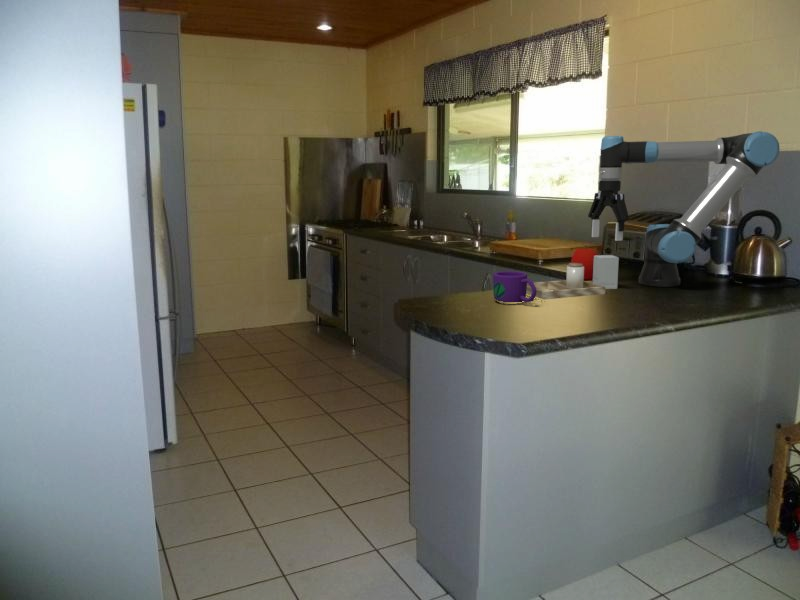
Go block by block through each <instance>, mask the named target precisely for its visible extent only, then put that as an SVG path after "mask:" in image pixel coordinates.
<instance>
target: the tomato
mask: <svg viewBox="0 0 800 600" xmlns="http://www.w3.org/2000/svg"><path fill="white" fill-rule="evenodd" d="M572 254H573V255H572V256H571V261H570V263H582V264H583V265H582V266H584V281H589V280H590V281H593V264H594V256H596V255H600V254H599V253H598V252H597V250H595V249H594V248H591V247H590V246H589V247H587V245H584V246H582V247H578V248H576V250H575V251H574V252H573V253H572Z"/></svg>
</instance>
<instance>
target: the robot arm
mask: <svg viewBox="0 0 800 600" xmlns="http://www.w3.org/2000/svg"><path fill="white" fill-rule="evenodd" d="M780 149H781V148H780V142H779V140H778V139H777V137H776V136H775V135H774V134H772V133H770V132H768V131H762V130H761V131H754V132H750V133H749V132H747V133H742V134H737V135H733V136H727V137H726V136H725V137H717V138H716V139H715V140H693V141H692V140H690V141H683V140H682V141H659V142H658V141H657V142H656V141H649V140H647V141H646V140H645V141H639V140H638V141H625V139H624V136H622V135H606V136H603V137H602V138H601V144H600V159H599V162H600V163H599V177H598V178H599V182H598V191H600V192H595V193H594V197H593V202H592V204H591V206H590V209H589V212H588V214H587V215H588V216H587V217H588V218H590V219H591V238H599V237H600V223H601V221H600V216H601V215H602V213H603V212H604V210H605V208H606V207H610V208H611V209H612V211H613V214H614V216H615V219H616V222H615V235H614V240H615V241H616V242H618V241H620V242H621V241H623V240H624V231H625V222H628V221H630V216H629V212H628V209H627V204H626V201H625V200H626V199H625V194H624V193H619V192H620V191H621V189H622V187H621V186H622V182H621V179H622V174H623V173H622V169H623V168H622V167H623V164H629V165H631V164H648V163H649V164H658V163H660V164H661V163H697V162H698V163H699V162H700V163H701V162H702V163H703V162H704V163H706V162H713V163H714V164H716V165H725V166H724V167H723V168H722V169H721V170H720V171H719V173H718V174H717V175H716V176H715V177H714V179H713V180H712V181H711V182H710V183H709V184H708V186H707V187H706V188H705V189H704V190H703V191H702V193H701V194H700V195H699V197H698V198H696V200H695V201H694V202H693V204H691V206H689V208H688V209H687V210H686V211H685V212H684V214H683V215H682V216H681V217H679V218H674V219H673V220H672V221H671V223H670V224H669V223H663V224H662V223H661V224H660V223H657V224H649V225H647V227H646V232H645V246H644V247H645V248H644V249H645V250H644V261H643V262H644V264H643V266H642V269H641V272H640V274H639V276H638V284H640V285H642V286H643V285H644V286H648V287H649V286H650V287H661V288H662V287H665V288H667V287H668V288H669V287H679V286H680V285H681V277H680V273H679V269H678V266H677V264H681V263H684V262H686V261H688V260H690V259H691V258H692V257H693V255H694V253H695V252H696V248H697V244H698V243H699V242H700V241H701V240H702V232H703V230H705V228H706V227H707V226H708V225H709V224H710V223H711V221H713V219H714V218H715V217H716V216H717V214H718V213H719V212H720V211H721V210H722V209H723V208H724V206H725V205H726V204H727V203H728V202H729V201H730V199H732V197H733V196H734V195H735V194H736V192H737V191H738V190H739V189H740V188H741V187H742V185H743V184H745V182H746V181H747V180H748V179H750V178H751V179H752V178H755V177H757V175H758V174H759V172H760V171H762V169H763V168H764V167H767V166H768V167H769V165H771V164H773V163H774V162H775V161H776V160H777V159H778V156H779V154H780Z"/></svg>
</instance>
